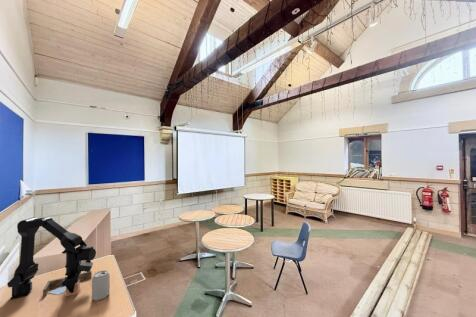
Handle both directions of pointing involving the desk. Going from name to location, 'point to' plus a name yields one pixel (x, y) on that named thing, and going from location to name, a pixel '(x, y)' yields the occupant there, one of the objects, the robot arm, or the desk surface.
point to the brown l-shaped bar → (59, 281)
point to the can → (100, 285)
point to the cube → (76, 289)
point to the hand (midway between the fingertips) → (72, 290)
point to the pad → (58, 290)
